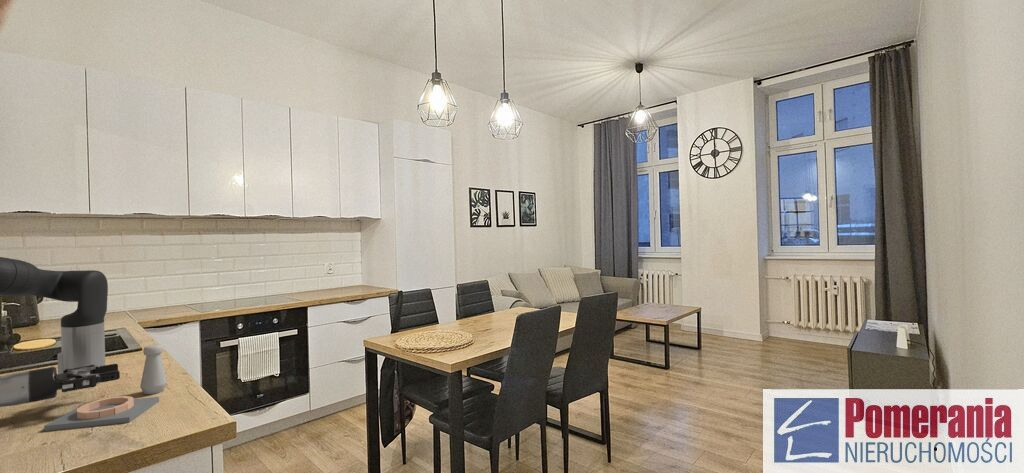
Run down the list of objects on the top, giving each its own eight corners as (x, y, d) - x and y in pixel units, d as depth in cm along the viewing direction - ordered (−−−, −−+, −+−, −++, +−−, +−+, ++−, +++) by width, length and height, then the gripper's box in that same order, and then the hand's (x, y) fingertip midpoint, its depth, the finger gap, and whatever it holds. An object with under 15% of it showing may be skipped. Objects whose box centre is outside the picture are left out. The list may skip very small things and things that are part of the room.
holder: (44, 431, 97) (44, 419, 97) (84, 408, 110) (84, 397, 110) (129, 422, 101) (129, 410, 101) (159, 401, 114) (158, 391, 114)
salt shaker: (151, 396, 117) (150, 348, 117) (134, 395, 119) (133, 347, 118) (172, 388, 123) (171, 343, 123) (156, 387, 124) (155, 342, 124)
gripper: (24, 378, 99) (120, 362, 111) (30, 365, 109) (117, 351, 121) (25, 410, 99) (120, 391, 111) (30, 394, 110) (117, 378, 121)
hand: (118, 370), depth 116 cm, fingers open, 8 cm apart
